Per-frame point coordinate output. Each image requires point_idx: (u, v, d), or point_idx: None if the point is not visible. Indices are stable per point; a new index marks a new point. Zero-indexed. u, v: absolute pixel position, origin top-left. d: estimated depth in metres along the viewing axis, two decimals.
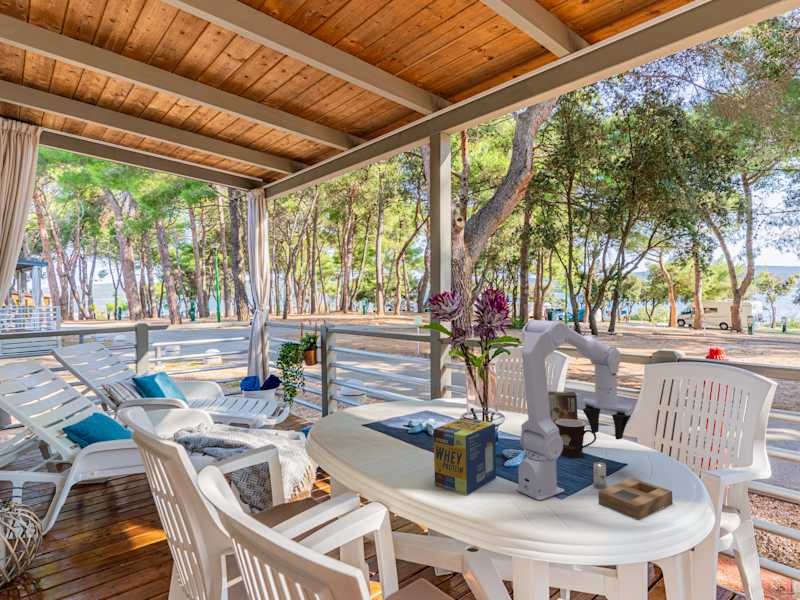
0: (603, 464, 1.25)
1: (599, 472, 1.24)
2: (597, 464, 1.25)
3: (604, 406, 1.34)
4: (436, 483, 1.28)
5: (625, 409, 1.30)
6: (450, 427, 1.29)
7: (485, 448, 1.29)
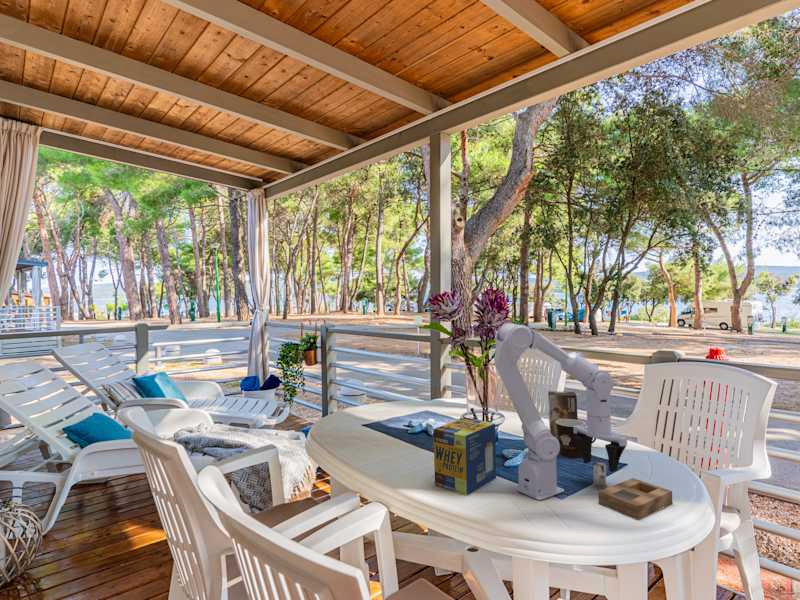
0: (603, 464, 1.25)
1: (599, 472, 1.24)
2: (597, 464, 1.25)
3: (596, 435, 1.22)
4: (436, 483, 1.28)
5: (619, 439, 1.19)
6: (450, 427, 1.29)
7: (485, 448, 1.29)
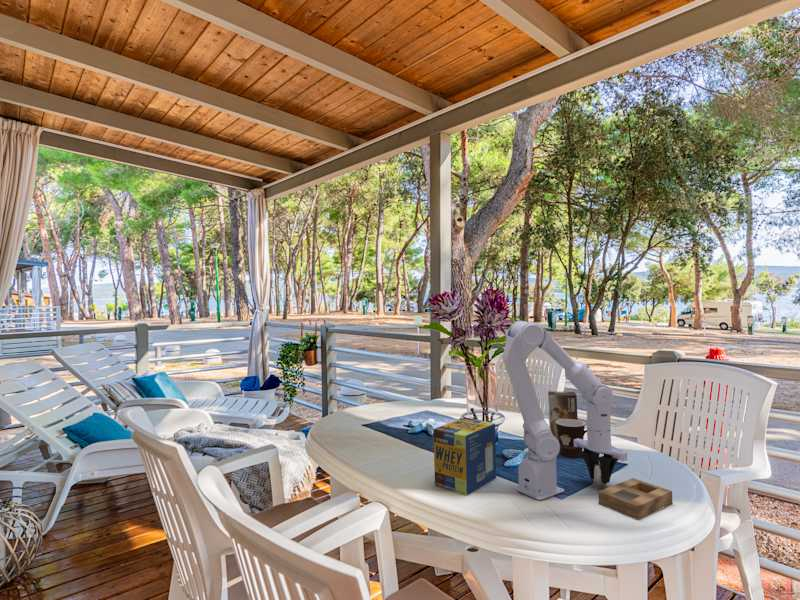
0: None
1: (599, 472, 1.24)
2: (597, 464, 1.25)
3: (597, 449, 1.23)
4: (436, 483, 1.28)
5: (619, 454, 1.19)
6: (450, 427, 1.29)
7: (485, 448, 1.29)
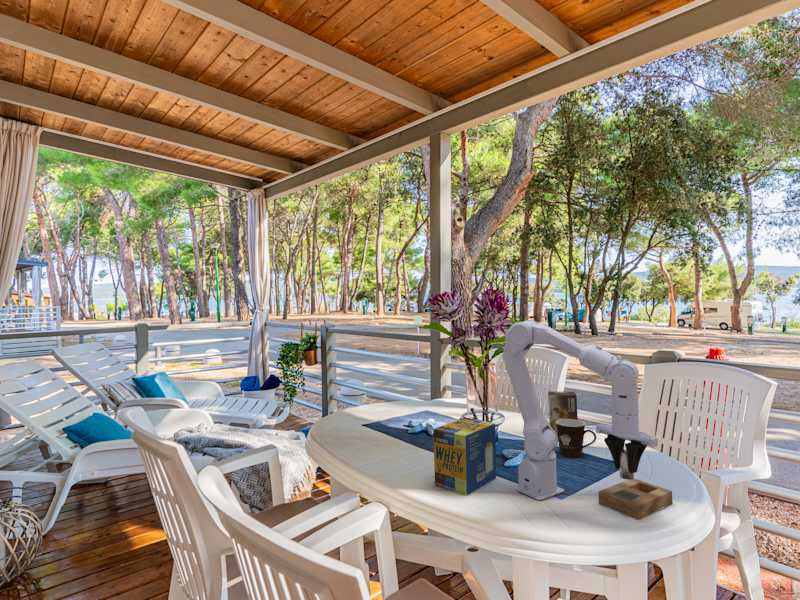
0: None
1: (626, 461, 1.12)
2: (623, 452, 1.13)
3: (623, 435, 1.10)
4: (436, 483, 1.28)
5: (649, 440, 1.07)
6: (450, 427, 1.29)
7: (485, 448, 1.29)
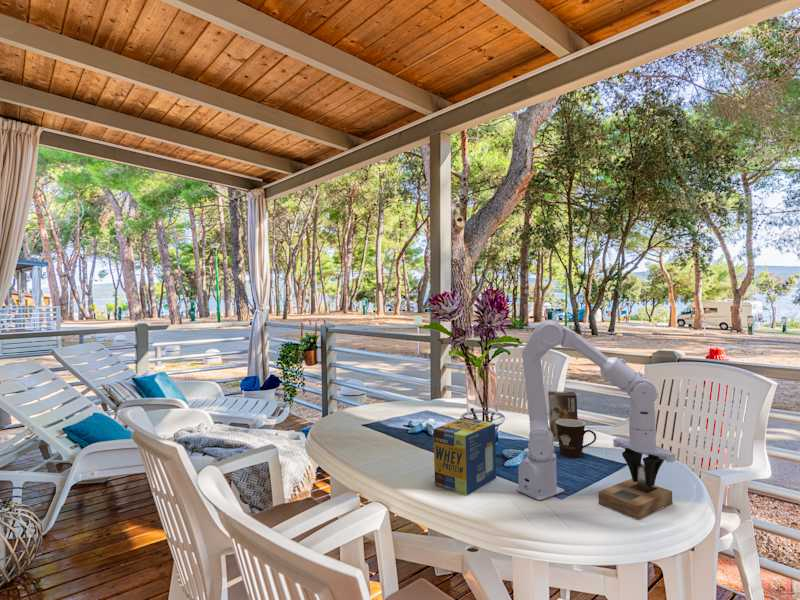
0: None
1: (644, 475, 1.15)
2: (641, 466, 1.16)
3: (641, 450, 1.14)
4: (436, 483, 1.28)
5: (667, 455, 1.10)
6: (450, 427, 1.29)
7: (485, 448, 1.29)
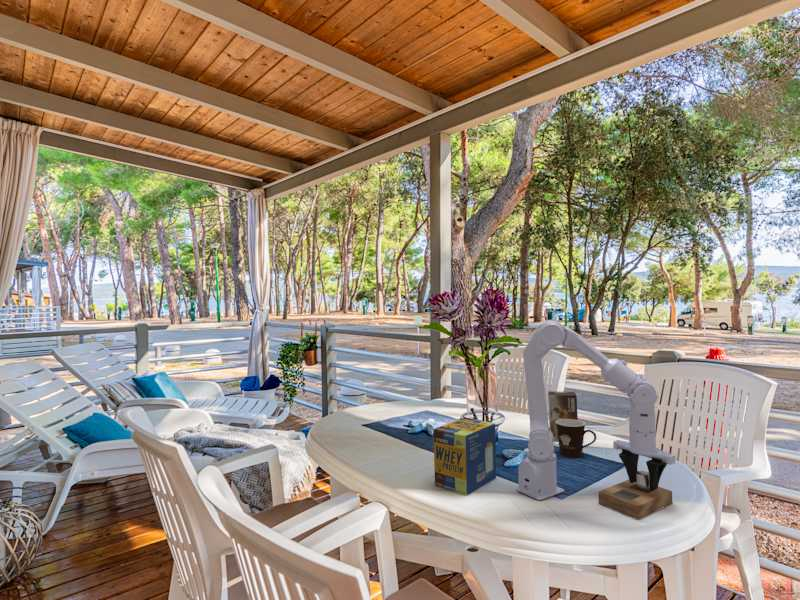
0: (647, 473, 1.17)
1: (643, 483, 1.15)
2: (640, 473, 1.16)
3: (641, 452, 1.14)
4: (436, 483, 1.28)
5: (667, 457, 1.10)
6: (450, 427, 1.29)
7: (485, 448, 1.29)
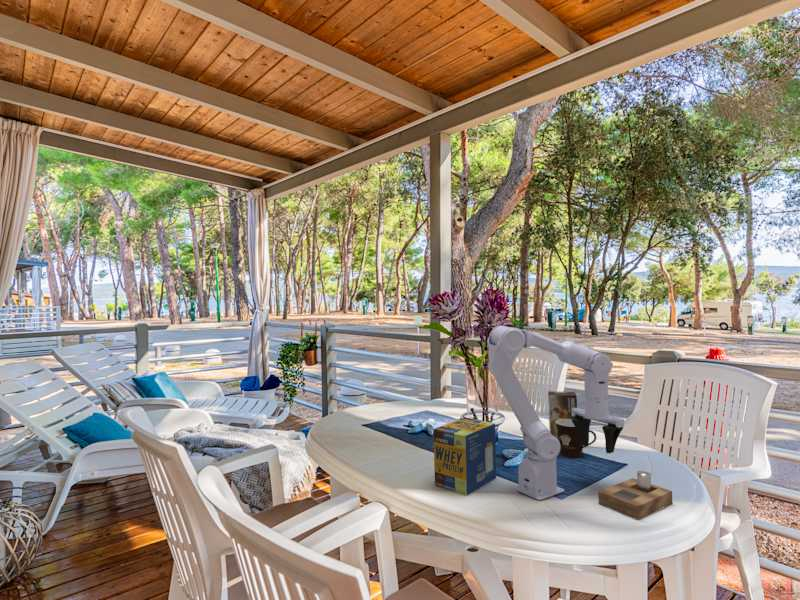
0: (648, 473, 1.17)
1: (644, 483, 1.15)
2: (641, 473, 1.16)
3: (594, 417, 1.23)
4: (436, 483, 1.28)
5: (616, 421, 1.20)
6: (450, 427, 1.29)
7: (485, 448, 1.29)
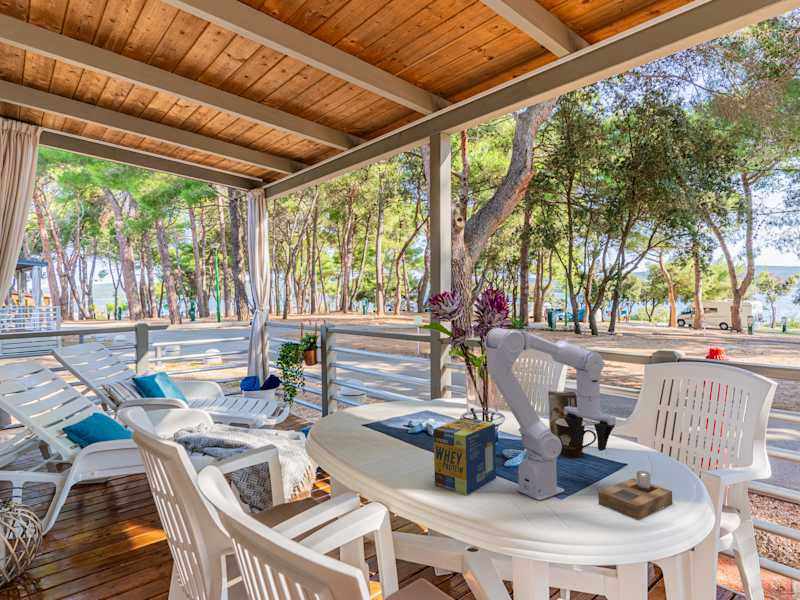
0: (647, 473, 1.17)
1: (644, 482, 1.15)
2: (641, 473, 1.16)
3: (586, 415, 1.25)
4: (436, 483, 1.28)
5: (608, 418, 1.21)
6: (450, 427, 1.29)
7: (485, 448, 1.29)
